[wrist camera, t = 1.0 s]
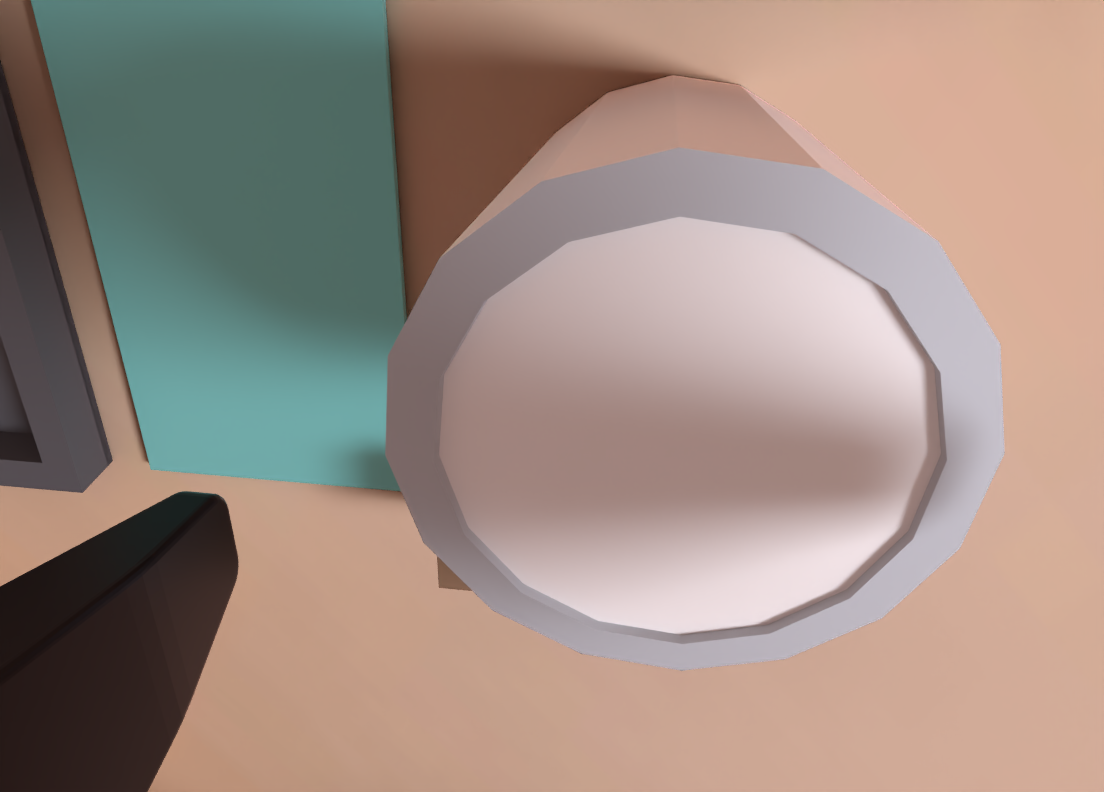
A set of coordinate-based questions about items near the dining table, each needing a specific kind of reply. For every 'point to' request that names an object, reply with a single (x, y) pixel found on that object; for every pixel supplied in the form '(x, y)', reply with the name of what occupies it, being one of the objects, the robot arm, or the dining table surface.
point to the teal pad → (241, 223)
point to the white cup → (693, 389)
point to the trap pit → (39, 343)
